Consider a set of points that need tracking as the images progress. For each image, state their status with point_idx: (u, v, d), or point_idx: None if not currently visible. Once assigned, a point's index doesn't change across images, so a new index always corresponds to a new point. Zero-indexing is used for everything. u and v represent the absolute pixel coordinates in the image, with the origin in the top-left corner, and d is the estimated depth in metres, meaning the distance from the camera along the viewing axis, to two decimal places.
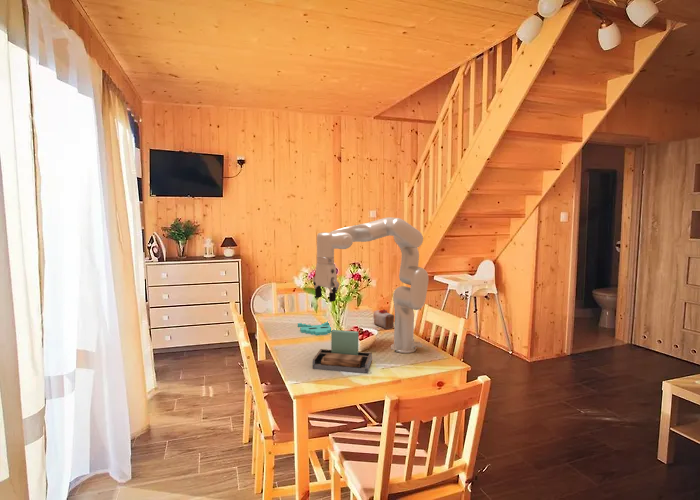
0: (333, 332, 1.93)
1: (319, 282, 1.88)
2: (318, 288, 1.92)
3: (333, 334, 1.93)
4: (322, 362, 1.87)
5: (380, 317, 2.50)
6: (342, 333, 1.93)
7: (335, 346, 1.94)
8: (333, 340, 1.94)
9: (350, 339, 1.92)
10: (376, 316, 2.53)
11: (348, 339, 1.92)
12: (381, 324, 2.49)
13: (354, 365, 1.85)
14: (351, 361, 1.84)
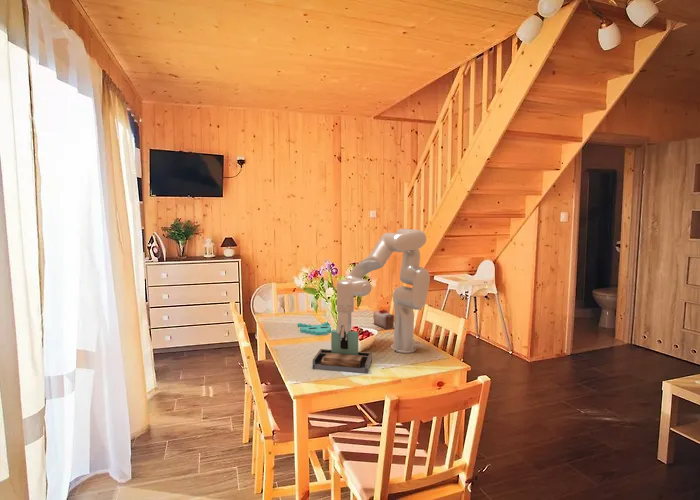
0: (333, 332, 1.93)
1: (349, 329, 1.92)
2: None
3: (333, 334, 1.93)
4: (322, 362, 1.87)
5: (380, 317, 2.50)
6: None
7: (335, 346, 1.94)
8: (333, 340, 1.94)
9: (350, 339, 1.92)
10: (376, 316, 2.53)
11: (348, 339, 1.92)
12: (381, 324, 2.49)
13: (354, 365, 1.85)
14: (351, 361, 1.84)
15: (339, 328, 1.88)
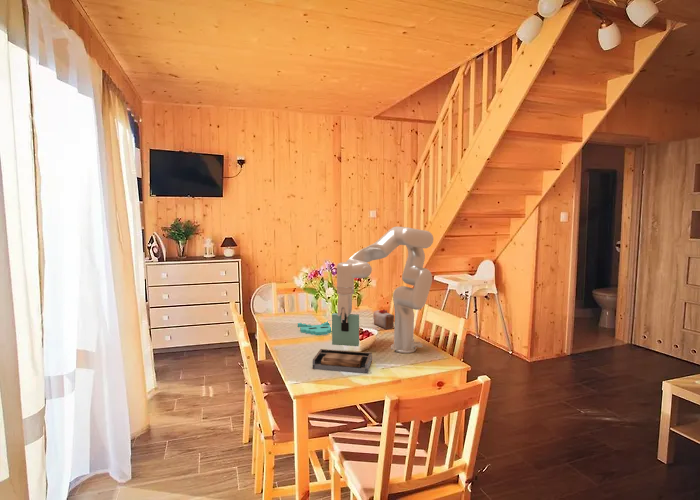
0: (333, 315, 1.93)
1: (349, 312, 1.91)
2: None
3: (333, 317, 1.93)
4: (322, 362, 1.87)
5: (380, 317, 2.50)
6: None
7: (335, 329, 1.93)
8: (334, 323, 1.93)
9: (350, 322, 1.91)
10: (376, 316, 2.53)
11: (349, 322, 1.92)
12: (381, 324, 2.49)
13: (354, 365, 1.85)
14: (351, 361, 1.84)
15: (339, 310, 1.88)
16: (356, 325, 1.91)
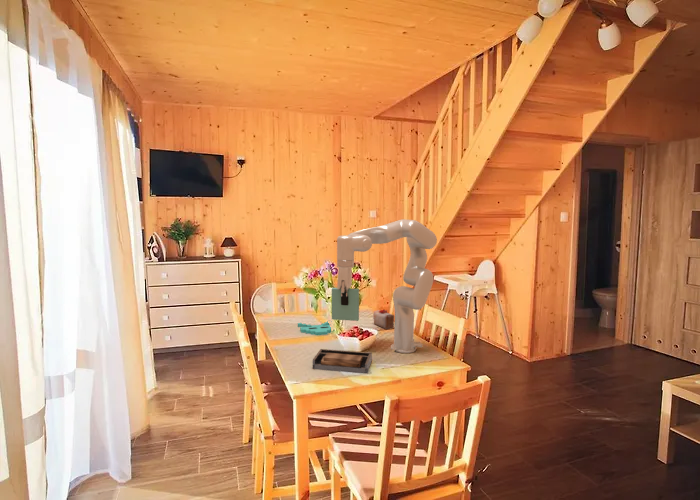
0: (333, 289, 1.91)
1: (349, 285, 1.89)
2: None
3: (333, 291, 1.91)
4: (322, 362, 1.87)
5: (380, 317, 2.50)
6: None
7: (335, 304, 1.92)
8: (333, 298, 1.91)
9: (350, 296, 1.90)
10: (376, 316, 2.53)
11: (349, 296, 1.90)
12: (381, 324, 2.49)
13: (354, 365, 1.85)
14: (351, 361, 1.84)
15: (339, 283, 1.86)
16: (356, 299, 1.90)
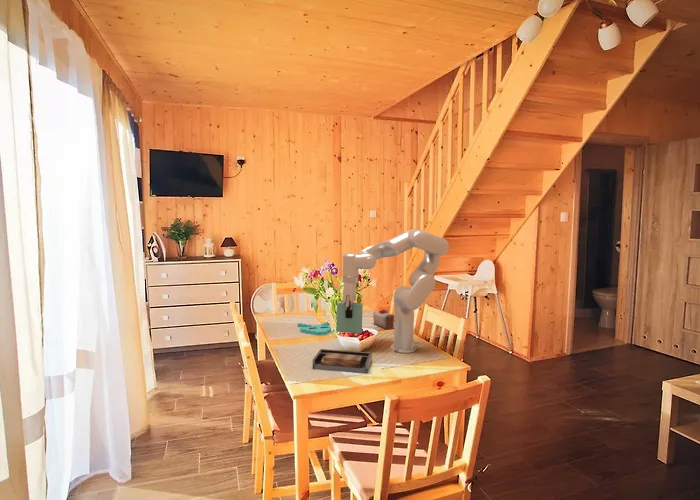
0: (338, 304, 2.05)
1: (353, 299, 2.03)
2: None
3: (338, 305, 2.05)
4: (322, 362, 1.87)
5: (380, 317, 2.49)
6: None
7: (340, 317, 2.05)
8: (338, 311, 2.05)
9: (354, 310, 2.03)
10: (376, 316, 2.53)
11: (353, 310, 2.04)
12: (381, 324, 2.49)
13: (354, 365, 1.85)
14: (351, 361, 1.84)
15: (344, 298, 2.00)
16: (359, 313, 2.03)
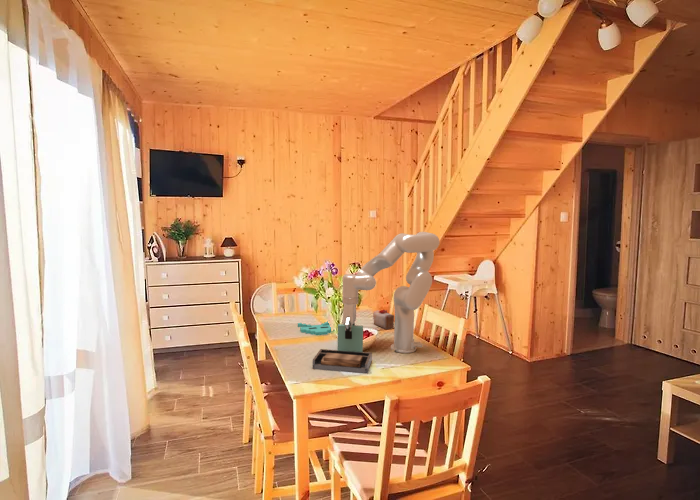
0: (339, 326, 2.06)
1: (354, 320, 2.04)
2: None
3: (339, 328, 2.06)
4: (322, 362, 1.87)
5: (380, 317, 2.49)
6: None
7: (341, 339, 2.06)
8: (339, 334, 2.06)
9: (355, 333, 2.05)
10: (376, 316, 2.53)
11: (353, 333, 2.05)
12: (381, 324, 2.49)
13: (354, 365, 1.85)
14: (351, 361, 1.84)
15: (345, 319, 2.01)
16: (360, 336, 2.04)
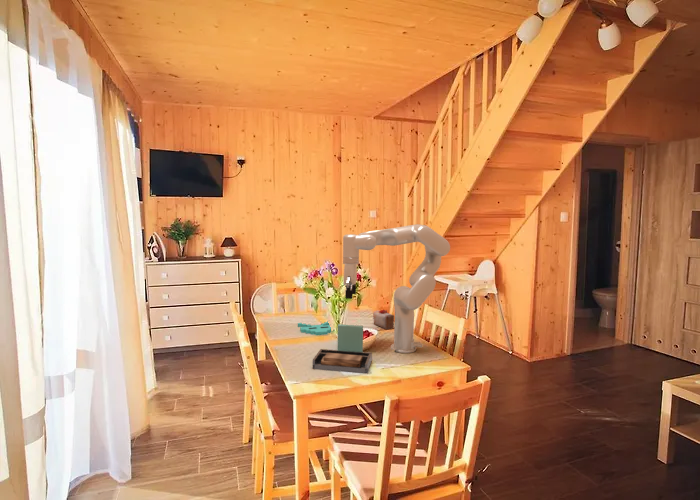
0: (339, 326, 2.06)
1: (354, 281, 2.02)
2: None
3: (339, 328, 2.06)
4: (322, 362, 1.87)
5: (380, 317, 2.49)
6: (348, 327, 2.05)
7: (340, 339, 2.06)
8: (339, 334, 2.06)
9: (355, 333, 2.05)
10: (376, 316, 2.53)
11: (353, 333, 2.05)
12: (381, 324, 2.49)
13: (354, 365, 1.85)
14: (351, 361, 1.84)
15: (345, 279, 1.99)
16: (360, 336, 2.04)
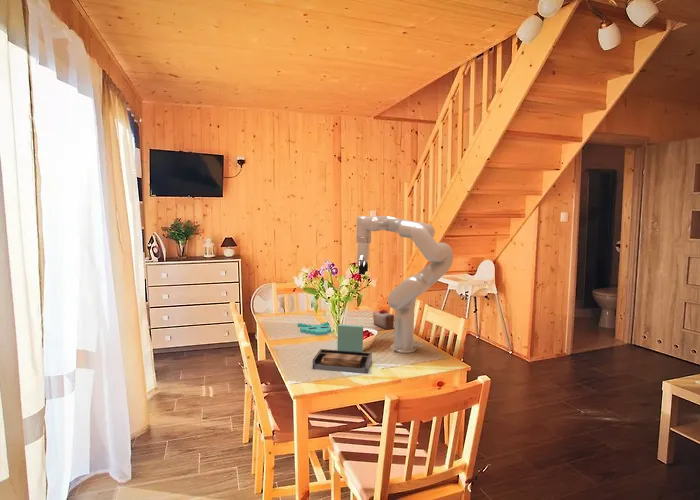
0: (339, 326, 2.06)
1: (367, 258, 2.20)
2: None
3: (339, 328, 2.06)
4: (322, 362, 1.87)
5: (380, 317, 2.49)
6: (348, 327, 2.05)
7: (341, 339, 2.06)
8: (339, 334, 2.06)
9: (355, 333, 2.05)
10: (376, 316, 2.53)
11: (353, 333, 2.05)
12: (381, 324, 2.49)
13: (354, 365, 1.85)
14: (351, 361, 1.84)
15: (359, 256, 2.17)
16: (360, 336, 2.04)
